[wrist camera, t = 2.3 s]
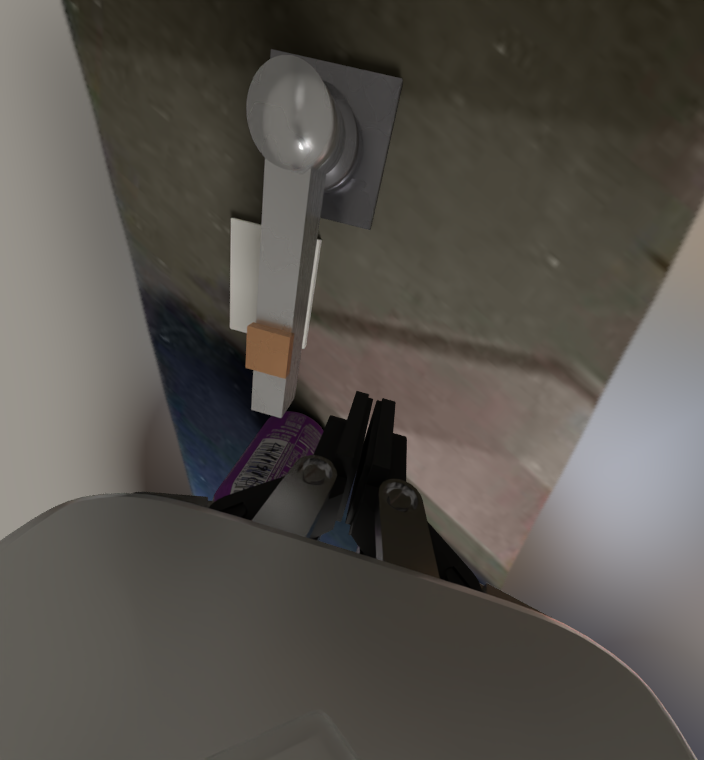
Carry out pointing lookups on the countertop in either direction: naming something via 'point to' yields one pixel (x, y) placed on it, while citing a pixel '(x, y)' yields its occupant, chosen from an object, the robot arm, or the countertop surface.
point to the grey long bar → (288, 216)
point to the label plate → (253, 275)
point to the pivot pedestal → (357, 139)
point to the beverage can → (272, 452)
